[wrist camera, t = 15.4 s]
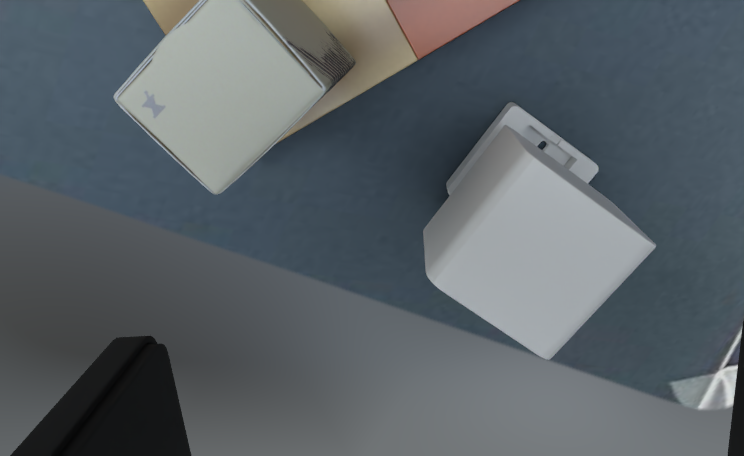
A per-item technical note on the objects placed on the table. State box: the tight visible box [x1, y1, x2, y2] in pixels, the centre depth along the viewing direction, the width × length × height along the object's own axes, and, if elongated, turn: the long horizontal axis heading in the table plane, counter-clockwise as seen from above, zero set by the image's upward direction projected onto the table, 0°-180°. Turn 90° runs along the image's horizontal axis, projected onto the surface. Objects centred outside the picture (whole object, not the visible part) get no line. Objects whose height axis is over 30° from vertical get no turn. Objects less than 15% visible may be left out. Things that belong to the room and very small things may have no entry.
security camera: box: [423, 102, 656, 360], centre depth 28 cm, size 6×7×10 cm
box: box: [114, 0, 356, 194], centre depth 24 cm, size 5×4×13 cm
